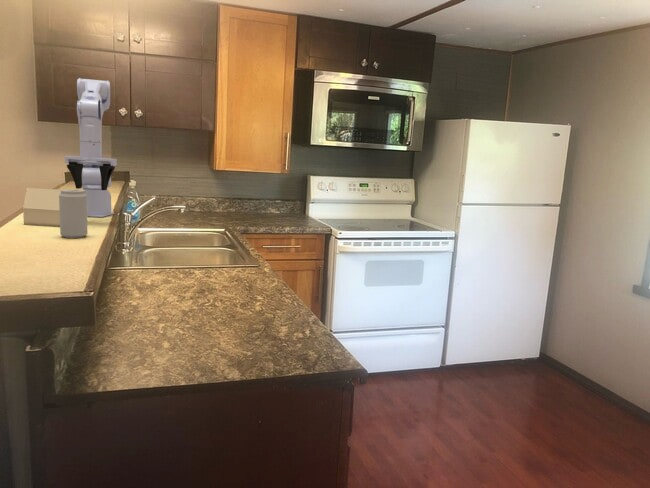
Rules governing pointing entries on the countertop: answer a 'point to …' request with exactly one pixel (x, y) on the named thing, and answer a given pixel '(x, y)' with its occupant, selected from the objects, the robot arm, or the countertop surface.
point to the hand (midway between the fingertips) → (91, 189)
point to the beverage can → (73, 213)
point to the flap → (42, 199)
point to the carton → (41, 217)
